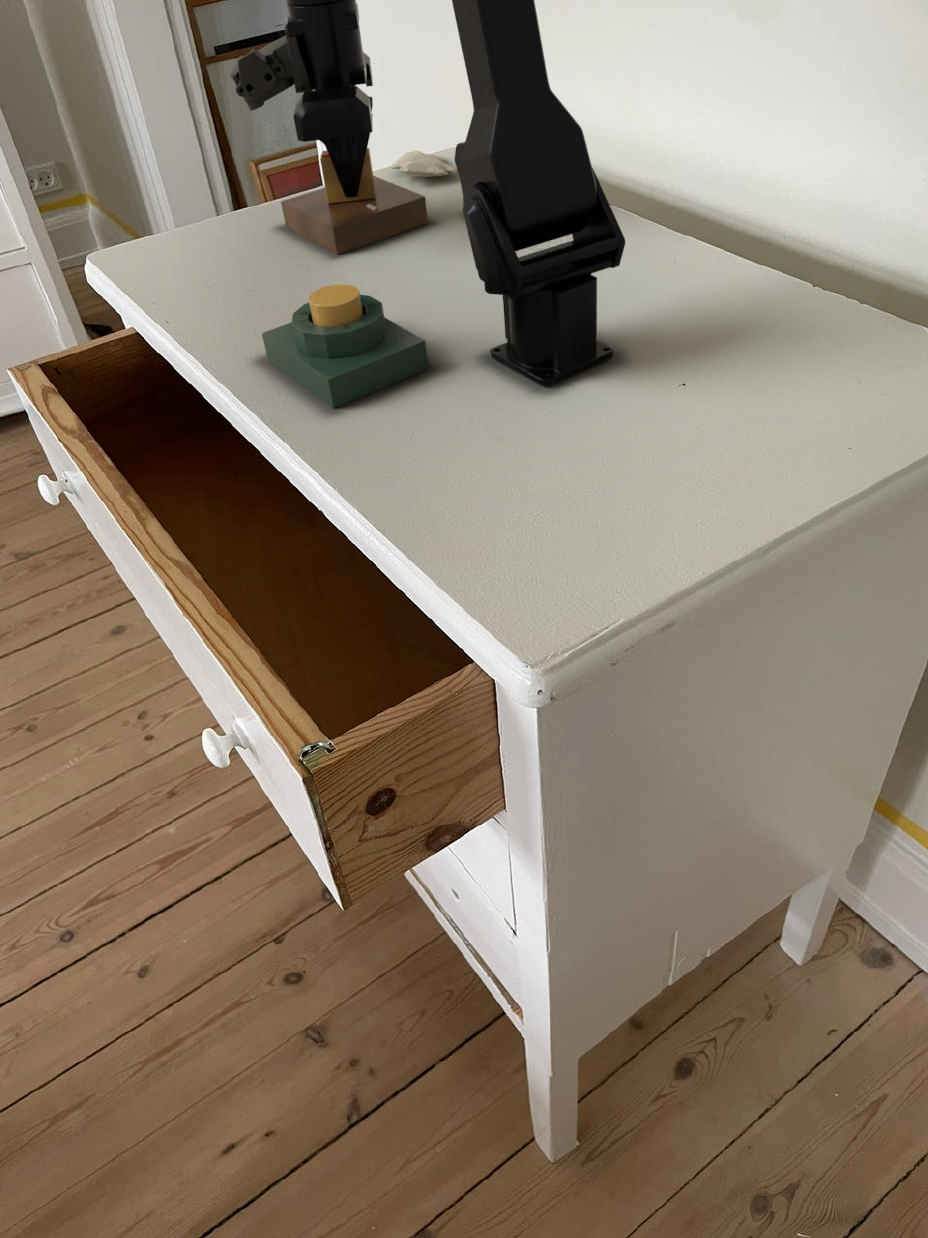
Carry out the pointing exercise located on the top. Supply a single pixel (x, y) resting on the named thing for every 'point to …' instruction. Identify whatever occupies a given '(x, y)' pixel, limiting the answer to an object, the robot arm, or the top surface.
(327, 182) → the red-tipped wooden block
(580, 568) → the top surface
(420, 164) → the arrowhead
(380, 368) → the box
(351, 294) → the release button
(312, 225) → the lock plate
